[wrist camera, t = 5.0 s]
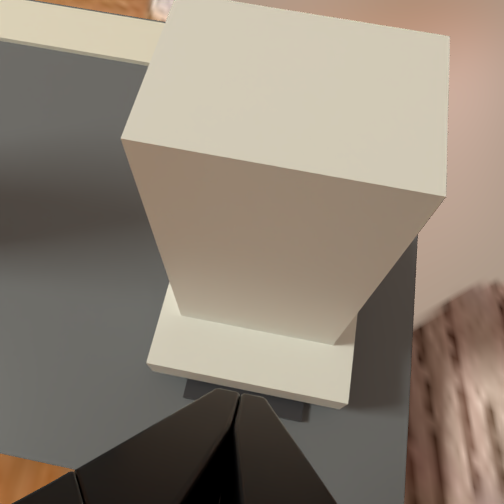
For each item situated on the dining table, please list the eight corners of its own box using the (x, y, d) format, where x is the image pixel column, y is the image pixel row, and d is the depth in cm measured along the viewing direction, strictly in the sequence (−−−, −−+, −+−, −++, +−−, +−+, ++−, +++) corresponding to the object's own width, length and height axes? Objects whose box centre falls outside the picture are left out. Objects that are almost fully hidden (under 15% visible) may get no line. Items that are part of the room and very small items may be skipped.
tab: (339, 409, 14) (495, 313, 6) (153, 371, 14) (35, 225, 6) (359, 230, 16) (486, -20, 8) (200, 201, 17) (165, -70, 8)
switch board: (386, 534, 14) (406, 542, 13) (-396, 364, 16) (-471, 351, 14) (414, 90, 22) (429, 59, 20) (-118, 1, 23) (-145, -36, 22)
